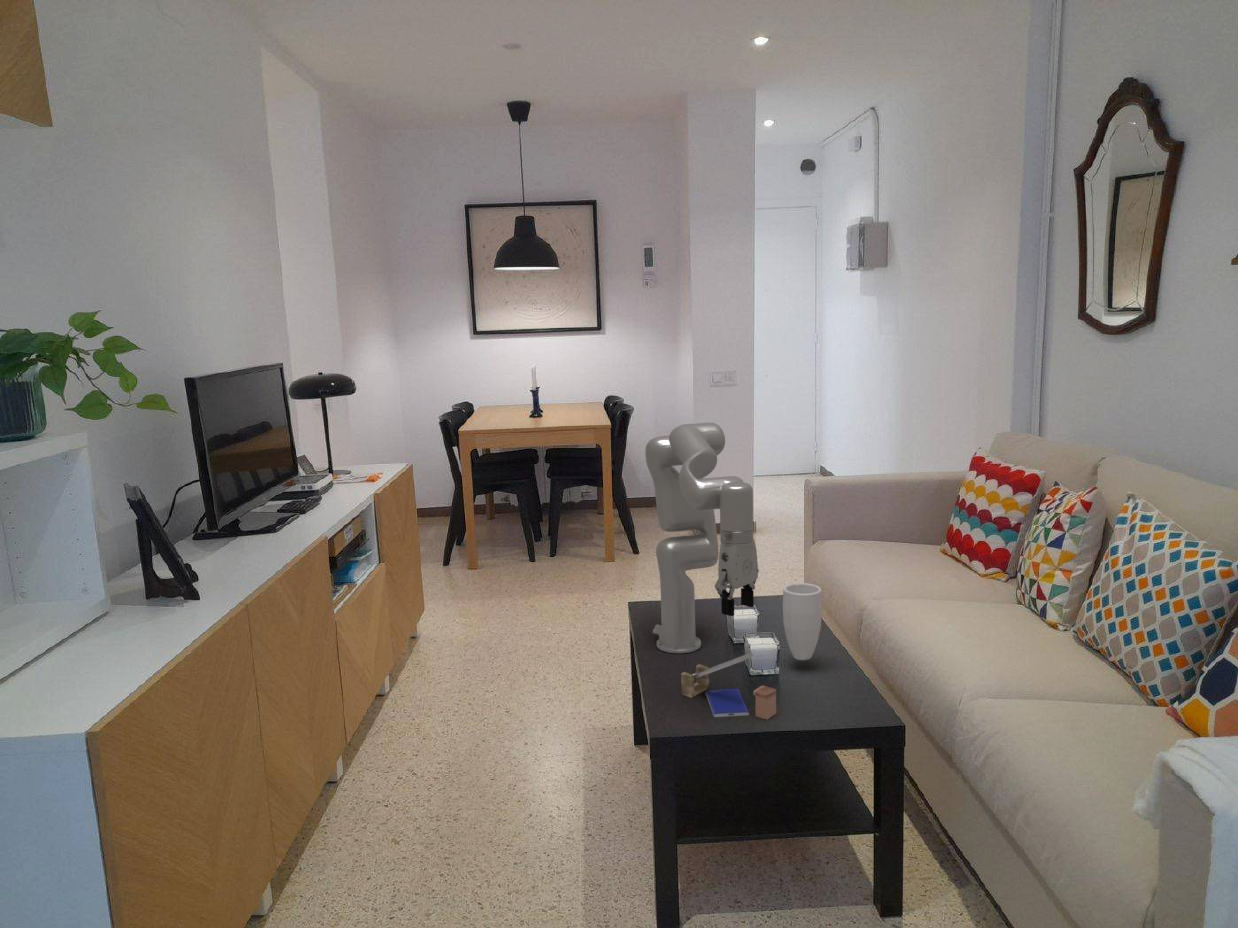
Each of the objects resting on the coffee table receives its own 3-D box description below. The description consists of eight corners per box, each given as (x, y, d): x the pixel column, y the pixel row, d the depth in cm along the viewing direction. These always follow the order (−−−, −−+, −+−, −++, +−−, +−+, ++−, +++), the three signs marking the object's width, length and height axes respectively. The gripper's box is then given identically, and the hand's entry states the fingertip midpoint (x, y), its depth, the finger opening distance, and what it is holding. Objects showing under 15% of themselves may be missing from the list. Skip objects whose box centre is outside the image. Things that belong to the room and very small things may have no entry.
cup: (773, 667, 219) (773, 588, 216) (797, 656, 226) (797, 579, 223) (807, 678, 212) (807, 597, 208) (830, 666, 218) (831, 587, 215)
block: (753, 715, 193) (753, 690, 192) (763, 709, 196) (762, 685, 195) (766, 719, 190) (766, 695, 189) (776, 713, 193) (776, 689, 192)
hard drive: (705, 690, 205) (713, 712, 193) (738, 688, 205) (748, 710, 193) (705, 696, 205) (714, 719, 193) (738, 694, 205) (749, 717, 193)
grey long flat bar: (689, 681, 205) (687, 676, 205) (699, 676, 208) (696, 671, 208) (744, 661, 193) (741, 656, 193) (753, 656, 195) (751, 651, 196)
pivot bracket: (681, 694, 205) (681, 673, 204) (699, 684, 210) (699, 664, 209) (691, 697, 203) (690, 676, 202) (709, 687, 208) (708, 667, 207)
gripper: (728, 546, 183) (729, 624, 185) (771, 530, 195) (771, 603, 198) (700, 541, 188) (702, 617, 190) (744, 526, 200) (745, 597, 203)
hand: (737, 609), depth 194 cm, fingers open, 7 cm apart
